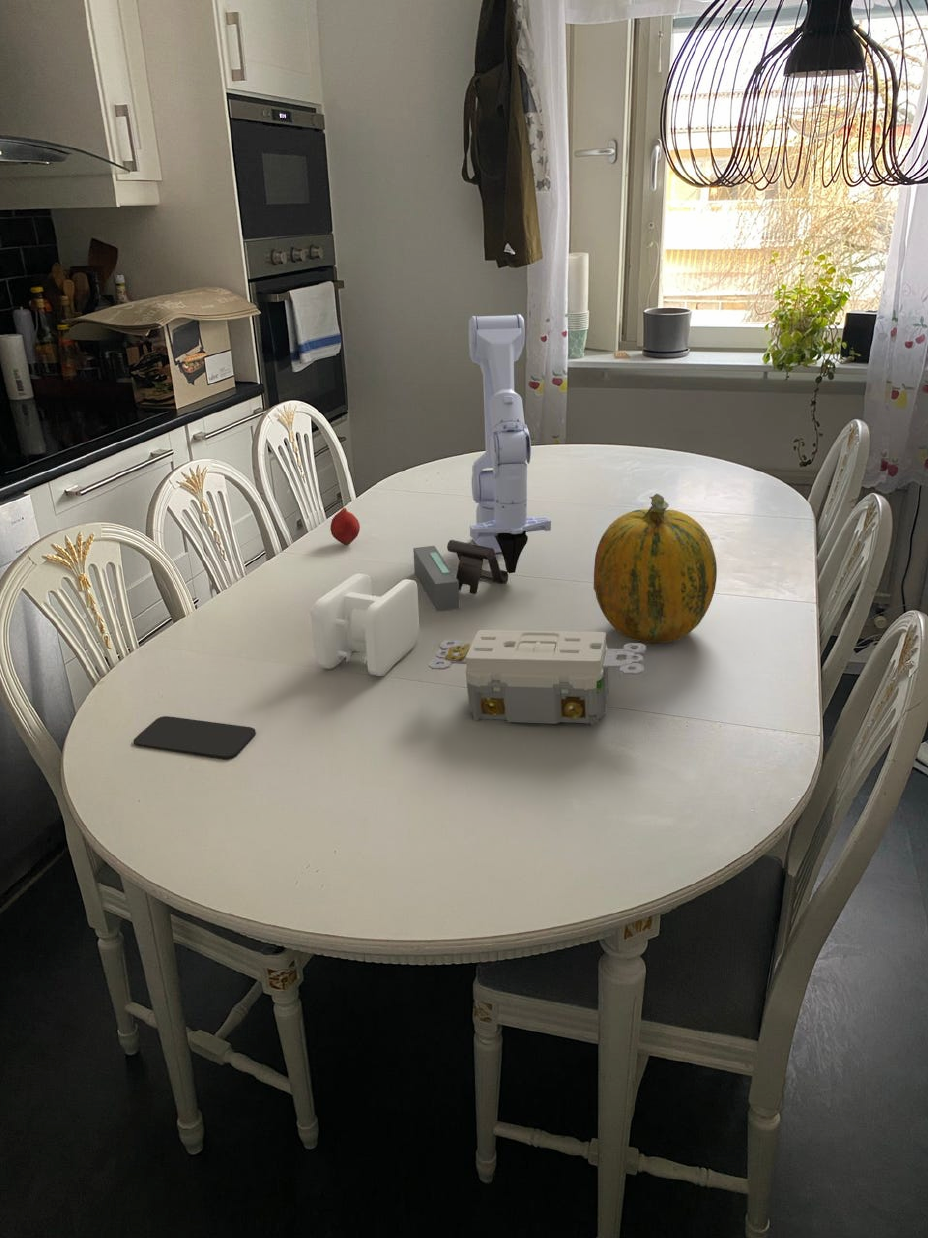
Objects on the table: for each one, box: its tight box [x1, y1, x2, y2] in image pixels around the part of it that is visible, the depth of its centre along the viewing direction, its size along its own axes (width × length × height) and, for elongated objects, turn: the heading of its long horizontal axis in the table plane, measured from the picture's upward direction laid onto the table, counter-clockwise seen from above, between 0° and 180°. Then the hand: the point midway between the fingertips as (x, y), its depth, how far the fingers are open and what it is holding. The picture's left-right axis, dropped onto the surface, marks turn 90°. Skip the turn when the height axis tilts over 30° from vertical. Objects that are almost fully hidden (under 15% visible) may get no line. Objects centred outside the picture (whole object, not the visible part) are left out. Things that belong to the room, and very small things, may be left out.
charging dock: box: [412, 545, 460, 612], centre depth 168 cm, size 18×4×5 cm, turn 15°
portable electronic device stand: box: [446, 539, 509, 595], centre depth 169 cm, size 9×8×8 cm
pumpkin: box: [593, 493, 718, 644], centre depth 146 cm, size 19×19×25 cm
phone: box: [132, 715, 257, 761], centre depth 125 cm, size 7×1×15 cm
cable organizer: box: [309, 573, 420, 677], centre depth 142 cm, size 15×11×12 cm
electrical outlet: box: [428, 629, 647, 725], centre depth 129 cm, size 12×28×10 cm, turn 77°
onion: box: [329, 507, 361, 546], centre depth 189 cm, size 6×6×8 cm
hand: (510, 571), depth 171 cm, fingers closed
